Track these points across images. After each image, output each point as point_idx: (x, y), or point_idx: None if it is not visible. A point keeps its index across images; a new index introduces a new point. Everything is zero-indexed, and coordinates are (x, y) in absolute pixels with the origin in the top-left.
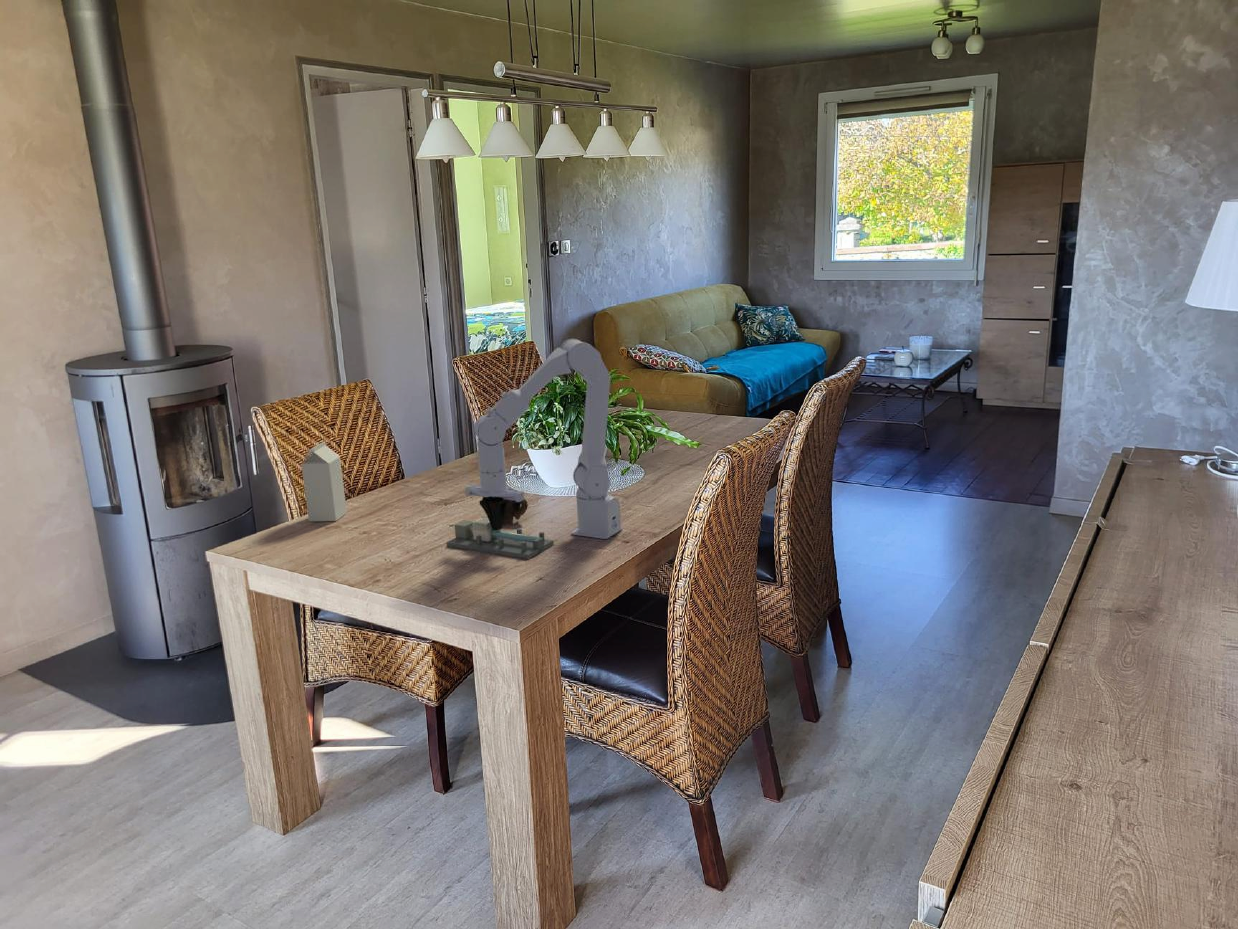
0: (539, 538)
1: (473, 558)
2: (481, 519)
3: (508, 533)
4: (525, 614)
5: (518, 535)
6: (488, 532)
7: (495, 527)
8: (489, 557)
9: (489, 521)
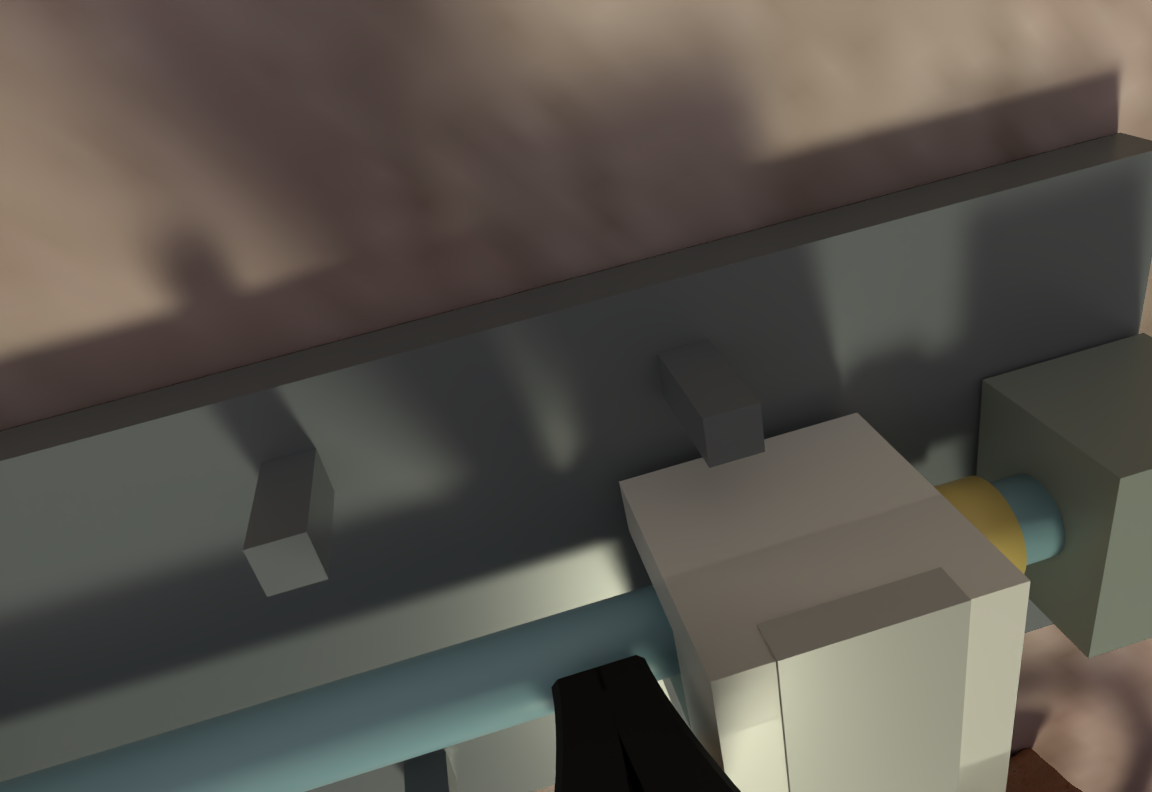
0: None
1: (422, 14)
2: (951, 724)
3: (381, 738)
4: None
5: (185, 788)
6: (659, 583)
7: (572, 713)
8: (252, 208)
9: (704, 756)
